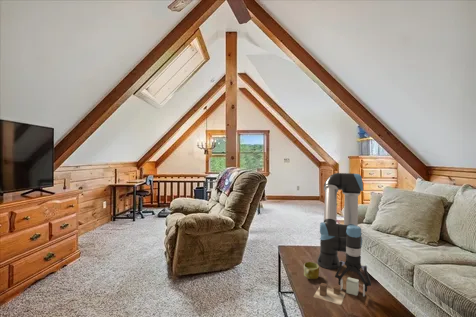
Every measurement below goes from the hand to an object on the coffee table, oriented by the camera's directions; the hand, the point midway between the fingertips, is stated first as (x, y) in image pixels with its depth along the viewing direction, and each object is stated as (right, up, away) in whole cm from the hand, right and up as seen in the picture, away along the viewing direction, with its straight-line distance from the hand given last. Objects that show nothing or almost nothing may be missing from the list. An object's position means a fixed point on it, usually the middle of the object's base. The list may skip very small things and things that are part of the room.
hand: (352, 293), depth 144 cm
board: (-14, 0, -3) cm, 14 cm away
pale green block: (0, 0, 0) cm, 0 cm away
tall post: (-17, +1, -3) cm, 18 cm away
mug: (-19, 0, +17) cm, 26 cm away
